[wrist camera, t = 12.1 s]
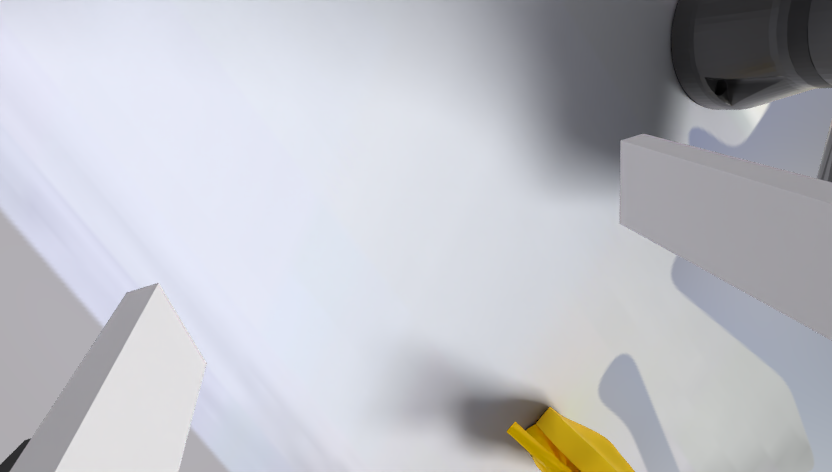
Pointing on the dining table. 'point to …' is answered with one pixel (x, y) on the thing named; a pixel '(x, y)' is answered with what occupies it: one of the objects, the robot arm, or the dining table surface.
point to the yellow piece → (568, 446)
